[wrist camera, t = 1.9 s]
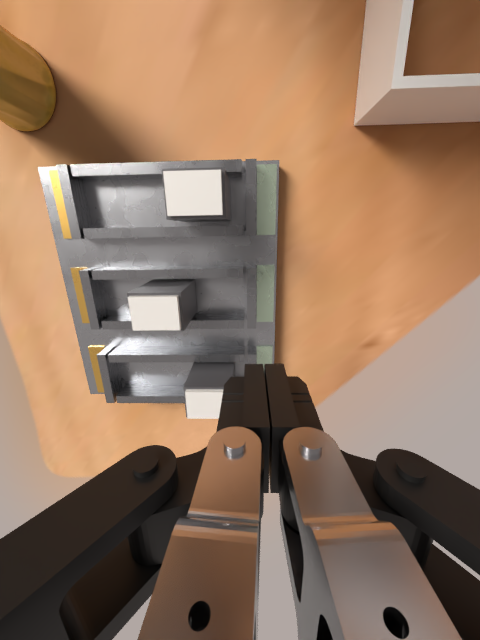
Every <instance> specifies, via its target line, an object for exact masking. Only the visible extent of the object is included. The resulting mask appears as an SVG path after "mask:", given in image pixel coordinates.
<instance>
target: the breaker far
mask: <svg viewBox="0 0 480 640" xmlns="http://www.w3.org/2000/svg"><path fill="white" fill-rule="evenodd" d="M230 377H235V362H194V363H193V365H192V368H191V370H190V373H189V375H188V377H187V380H186V382H185V385H184V387H183V388H184V398H185V408H186V417H187V418H192V419H219V414H220V408H221V402H222V395H223V389H224V384H225V383H226V382H227V380H228V379H229V378H230Z"/></svg>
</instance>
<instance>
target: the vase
mask: <svg viewBox="0 0 480 640" xmlns="http://www.w3.org/2000/svg"><path fill="white" fill-rule="evenodd" d="M55 103H56V90H55V84H54V80H53V77H52V74H51V72H50V70H49V68H48V66H47V64H46V63H45V61H44V60H43V58H42V57H41V56H40V55H39V54H38V53H37V52H36V50H35V49H34V48H32V47H31V46H30V45H29V44H27V43H25V42H23V41H21V40H20V39H18V38H17V37H15V36H14V35H12V34H11V33H10V32H8V31H7V30H6V29H4V28H3V27H2V26H0V120H1V121H2V122H4V123H5V124H7V125H8V126H10V127H12V128H14V129H16V130H20V131H33V130H37V129H40V128H41V127H43V126H44V125H45V124H46V123H47V122H48V121H49V120H50V118H51V116H52V114H53V112H54V109H55Z"/></svg>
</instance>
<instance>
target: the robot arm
mask: <svg viewBox="0 0 480 640" xmlns="http://www.w3.org/2000/svg"><path fill="white" fill-rule="evenodd" d="M269 476H270V477H269ZM269 478H270V489H271V493H279V497H280V525H281V530H282V535H283V541H284V547H285V552H286V558H287V564H288V569H289V575H290V581H291V586H292V592H293V597H294V602H295V609H296V617H297V626H298V640H480V581H479V580H478V579H477V578H476V577H474V576H473V575H472V574H470V573H469V572H468V571H466V570H465V569H464V568H463V567H461V566H460V565H459V564H457V563H456V562H455V561H454V560H452V559H451V558H450V557H449V556H447V555H446V554H445V553H443V552H442V551H441V550H439V549H438V548H437V547H436V546H434V545H433V544H432V543H433V540H435V541H436V542H438V543H439V544H440V545H441V546H443V547H444V548H445V549H446V550H448V551H449V552H450V553H452V554H453V555H454V556H456V557H457V558H458V559H459V560H461V561H462V562H464V563H465V564H466V565H467V566H469V567H470V568H471V569H473V570H474V571H475V572H477V573H478V574H479V575H480V490H479V489H477V488H475V487H474V486H472V485H470V484H468V483H467V482H465V481H463V480H461V479H460V478H458V477H456V476H455V475H453V474H451V473H449V472H448V471H446V470H444V469H442V468H441V467H439V466H437V465H435V464H434V463H432V462H430V461H428V460H427V459H425V458H423V457H421V456H419V455H417V454H415V453H413V452H410V451H406V450H402V449H387V450H384V451H382V452H381V453H380V454H379V455H378V456H377V459H376V461H373V460H368V459H365V458H361V457H357V456H354V455H351V454H348V453H346V452H344V451H342V450H340V449H339V447H338V445H337V444H336V442H335V441H334V440H333V438H332V437H331V436H329V435H328V434H327V433H325V432H324V431H323V428H322V426H321V423H320V420H319V417H318V415H317V412H316V409H315V407H314V404H313V403H312V399H311V396H310V395H309V391H308V388H307V385H306V384H305V383H304V382H303V381H302V380H301V379H300V378H299V377H287V376H286V372H285V368H284V364H264V367H263V364H245V368H244V377H230V378H229V379H228V380H227V382H226V383H225V384H224V389H223V395H222V402H221V408H220V414H219V420H218V426H217V432H216V433H215V434H214V435H213V436H212V437H211V439H210V440H209V443H208V446H207V447H206V448H204V449H202V450H201V451H199V452H196V453H193V454H190V455H186V456H182V457H179V458H176V457H175V454H174V453H173V452H172V451H171V450H170V449H169V448H167V447H164V446H160V445H152V446H146V447H143V448H140V449H138V450H136V451H134V452H132V453H130V454H129V455H127V456H126V457H124V458H123V459H121V460H120V461H118V462H117V463H115V464H114V465H112V466H111V467H109V468H108V469H106V470H105V471H103V472H102V473H100V474H99V475H97V476H96V477H94V478H93V479H91V480H90V481H88V482H86V483H85V484H83V485H82V486H80V487H79V488H77V489H76V490H74V491H73V492H71V493H70V494H68V495H67V496H65V497H64V498H62V499H61V500H59V501H58V502H56V503H55V504H53V505H51V506H50V507H48V508H47V509H45V510H44V511H42V512H41V513H39V514H38V515H37V516H35V517H33V518H32V519H30V520H29V521H27V522H26V523H24V524H23V525H21V526H20V527H18V528H17V529H15V530H14V531H12V532H10V533H9V534H7V535H6V536H4V537H3V538H1V539H0V640H112V639H113V638H114V637H115V636H116V634H117V633H118V632H119V631H120V630H121V629H122V627H123V626H124V625H125V624H126V623H127V622H128V621H129V620H130V618H131V617H132V616H133V615H134V614H135V613H136V612H137V610H138V609H139V608H140V607H141V606H142V605H143V604H144V602H145V601H146V600H147V599H148V598H149V597H150V596H151V595H152V596H151V600H150V603H149V606H148V609H147V612H146V615H145V618H144V621H143V624H142V627H141V630H140V634H139V637H138V640H257V632H258V595H259V563H260V531H261V518H262V515H263V497H264V496H263V493H268V491H269V490H268V489H269Z"/></svg>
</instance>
